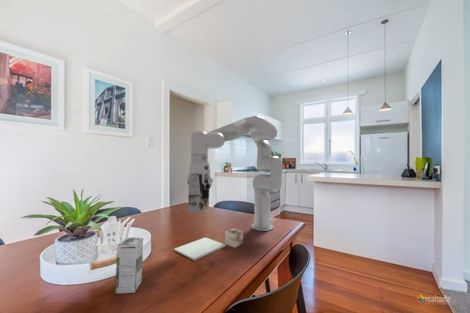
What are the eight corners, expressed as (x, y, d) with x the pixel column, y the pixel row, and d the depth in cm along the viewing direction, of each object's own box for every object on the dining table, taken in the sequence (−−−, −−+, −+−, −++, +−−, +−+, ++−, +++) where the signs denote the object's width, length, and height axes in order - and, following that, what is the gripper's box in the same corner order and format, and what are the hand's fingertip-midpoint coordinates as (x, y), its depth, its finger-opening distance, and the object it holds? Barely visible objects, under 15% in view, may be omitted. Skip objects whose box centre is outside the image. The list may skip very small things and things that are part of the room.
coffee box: (201, 212, 87) (201, 174, 87) (187, 211, 88) (187, 174, 89) (209, 207, 96) (209, 173, 96) (196, 207, 97) (196, 173, 98)
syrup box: (123, 282, 66) (124, 237, 66) (142, 282, 67) (143, 236, 67) (115, 294, 60) (115, 244, 61) (135, 293, 61) (136, 243, 61)
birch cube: (233, 240, 102) (233, 228, 102) (243, 243, 98) (243, 230, 98) (225, 244, 97) (225, 231, 98) (234, 247, 93) (234, 234, 94)
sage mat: (205, 238, 104) (205, 237, 104) (225, 246, 95) (225, 244, 95) (174, 250, 90) (174, 248, 90) (193, 260, 81) (193, 258, 81)
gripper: (218, 158, 90) (218, 198, 89) (193, 159, 101) (193, 194, 101) (205, 158, 84) (205, 200, 84) (180, 158, 95) (180, 196, 95)
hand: (198, 197), depth 92 cm, fingers closed on coffee box, 8 cm apart
